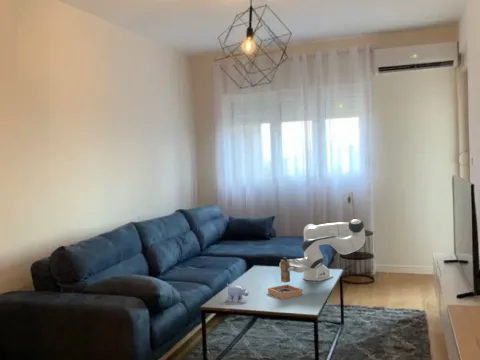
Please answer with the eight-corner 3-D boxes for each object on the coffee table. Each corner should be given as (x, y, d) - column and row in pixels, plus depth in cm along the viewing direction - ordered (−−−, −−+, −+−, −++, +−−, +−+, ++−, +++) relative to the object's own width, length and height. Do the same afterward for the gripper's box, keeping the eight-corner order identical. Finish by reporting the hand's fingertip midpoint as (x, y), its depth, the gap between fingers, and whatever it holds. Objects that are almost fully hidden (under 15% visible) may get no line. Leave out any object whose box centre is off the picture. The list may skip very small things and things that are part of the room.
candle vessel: (288, 289, 325) (288, 284, 325) (302, 294, 311) (302, 289, 311) (268, 293, 317) (267, 288, 317) (281, 299, 303) (281, 293, 303)
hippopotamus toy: (244, 303, 298) (243, 287, 297) (223, 300, 305) (222, 285, 304) (252, 298, 307) (251, 283, 307) (231, 296, 314) (230, 281, 314)
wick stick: (285, 280, 316) (284, 256, 315) (289, 281, 313) (289, 257, 312) (281, 281, 313) (280, 257, 312) (285, 282, 310) (284, 258, 309)
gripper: (311, 272, 313) (296, 276, 304) (288, 267, 329) (273, 271, 320) (310, 263, 313) (295, 266, 304) (288, 258, 328) (273, 261, 320)
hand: (284, 269), depth 312 cm, fingers closed on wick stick, 4 cm apart
